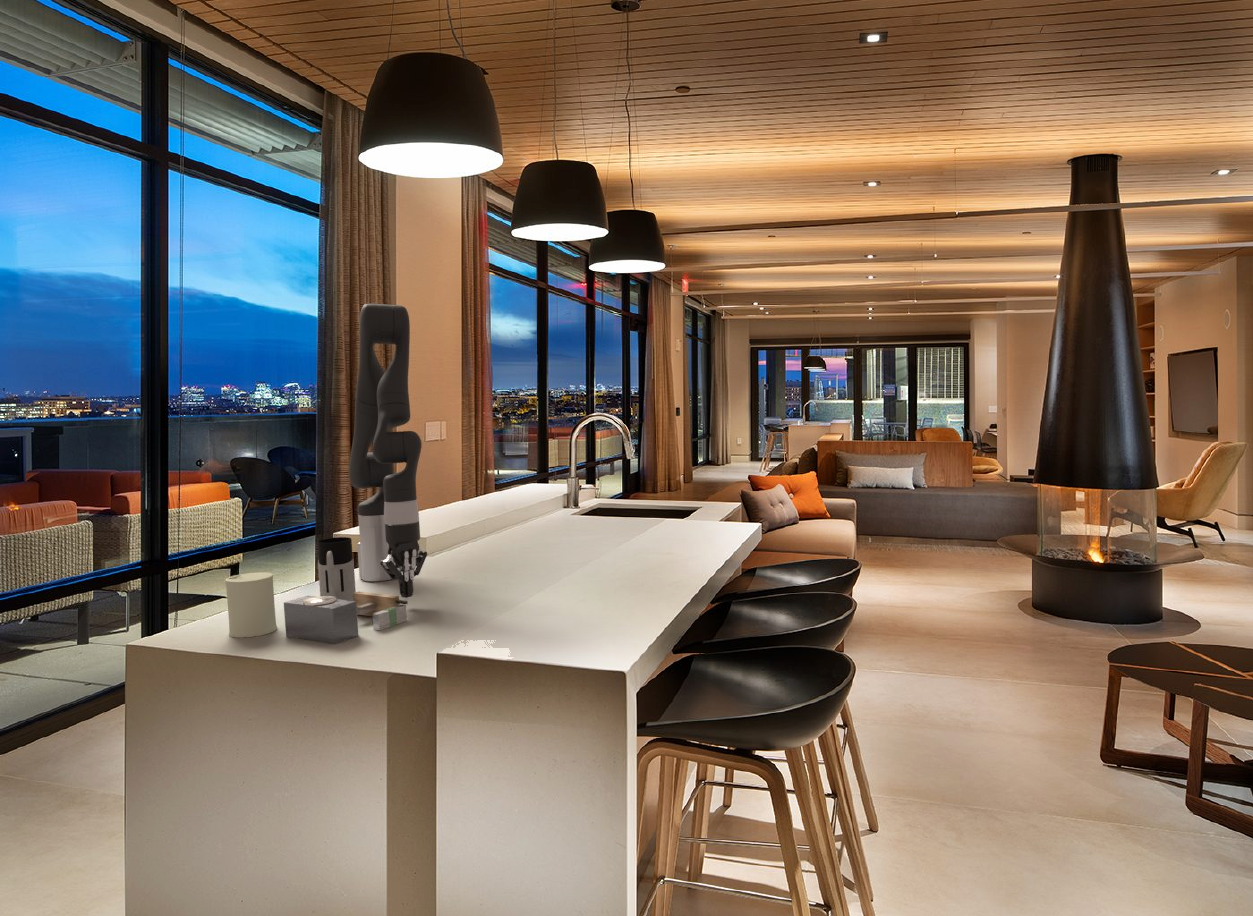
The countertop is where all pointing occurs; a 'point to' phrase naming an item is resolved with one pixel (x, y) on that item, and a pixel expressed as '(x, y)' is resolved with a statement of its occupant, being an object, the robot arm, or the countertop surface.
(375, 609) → the tan wooden bar
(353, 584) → the black and white mug
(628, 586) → the countertop surface
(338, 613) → the set of grey blocks
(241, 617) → the can
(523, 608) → the countertop surface
